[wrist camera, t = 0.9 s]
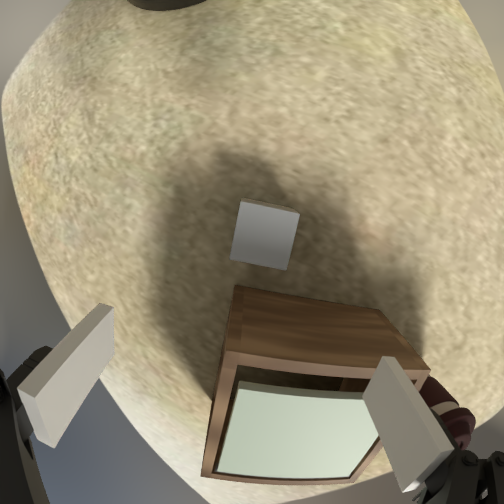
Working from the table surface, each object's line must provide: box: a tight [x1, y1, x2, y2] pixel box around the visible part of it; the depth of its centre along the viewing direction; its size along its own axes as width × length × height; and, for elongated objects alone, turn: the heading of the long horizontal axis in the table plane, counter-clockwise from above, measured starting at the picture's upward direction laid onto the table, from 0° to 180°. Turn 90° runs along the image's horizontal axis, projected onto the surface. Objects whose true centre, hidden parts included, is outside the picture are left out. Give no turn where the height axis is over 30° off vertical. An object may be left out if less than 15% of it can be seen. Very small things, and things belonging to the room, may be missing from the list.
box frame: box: [201, 285, 431, 485], centre depth 27 cm, size 17×17×12 cm
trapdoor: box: [215, 381, 378, 479], centre depth 22 cm, size 12×14×1 cm
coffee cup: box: [419, 375, 476, 450], centre depth 28 cm, size 10×10×15 cm
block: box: [229, 198, 300, 270], centre depth 27 cm, size 5×5×5 cm
